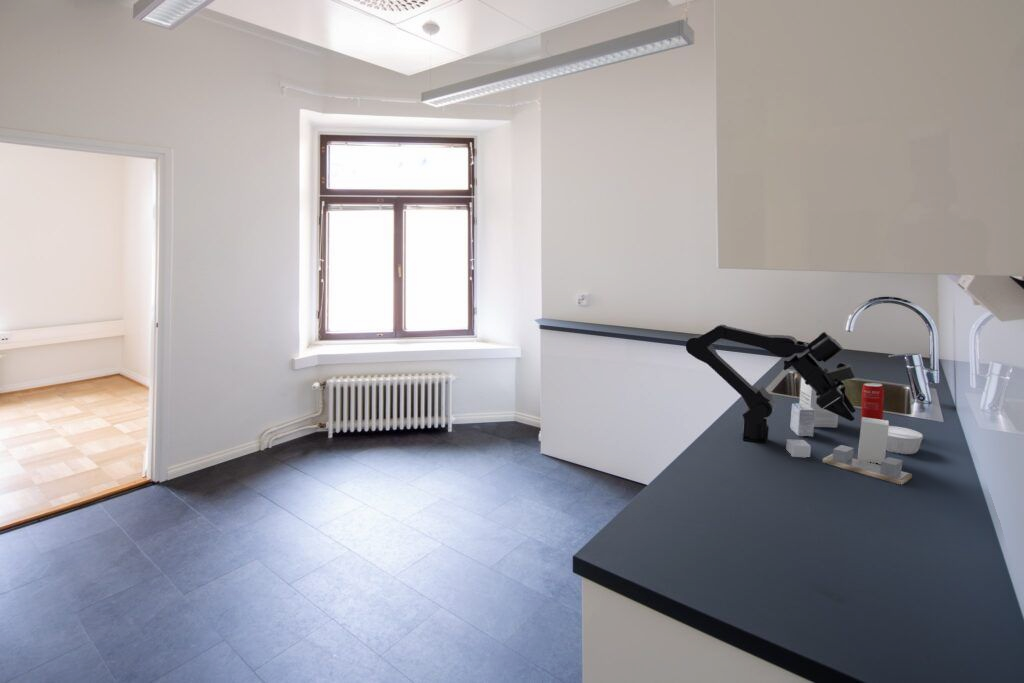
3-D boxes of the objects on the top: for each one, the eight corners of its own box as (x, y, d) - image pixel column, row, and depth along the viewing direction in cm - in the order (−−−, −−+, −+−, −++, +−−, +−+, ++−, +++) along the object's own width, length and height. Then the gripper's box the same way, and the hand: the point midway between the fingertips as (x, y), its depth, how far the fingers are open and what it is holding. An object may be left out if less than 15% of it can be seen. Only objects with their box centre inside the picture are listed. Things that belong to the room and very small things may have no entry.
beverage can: (886, 432, 165) (891, 386, 163) (865, 431, 165) (870, 386, 163) (873, 426, 171) (878, 381, 169) (853, 426, 171) (858, 381, 169)
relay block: (792, 457, 145) (793, 445, 144) (785, 450, 149) (786, 439, 149) (809, 458, 144) (810, 446, 143) (802, 451, 149) (803, 440, 148)
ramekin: (890, 455, 145) (892, 437, 145) (864, 442, 156) (866, 425, 156) (931, 456, 145) (933, 438, 144) (902, 442, 156) (904, 425, 155)
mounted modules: (832, 459, 139) (833, 448, 139) (840, 455, 142) (841, 444, 142) (894, 476, 128) (895, 465, 128) (901, 471, 131) (902, 460, 131)
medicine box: (813, 437, 160) (815, 410, 159) (797, 436, 161) (800, 409, 160) (804, 429, 168) (806, 403, 167) (789, 428, 169) (791, 402, 167)
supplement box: (825, 420, 178) (829, 377, 176) (837, 428, 169) (842, 383, 167) (797, 418, 179) (800, 376, 177) (808, 427, 170) (812, 382, 168)
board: (822, 462, 140) (822, 458, 140) (833, 456, 145) (833, 453, 144) (901, 485, 126) (902, 481, 126) (911, 477, 130) (912, 474, 130)
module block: (857, 460, 142) (861, 421, 140) (857, 454, 146) (861, 416, 144) (884, 465, 139) (888, 425, 137) (884, 459, 143) (888, 420, 141)
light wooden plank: (825, 458, 140) (825, 458, 140) (835, 454, 144) (835, 453, 144) (900, 479, 127) (900, 479, 127) (908, 473, 130) (909, 473, 130)
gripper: (834, 359, 136) (881, 406, 132) (838, 349, 151) (880, 391, 147) (798, 385, 142) (842, 431, 137) (805, 373, 157) (845, 414, 152)
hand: (853, 415), depth 143 cm, fingers open, 9 cm apart
